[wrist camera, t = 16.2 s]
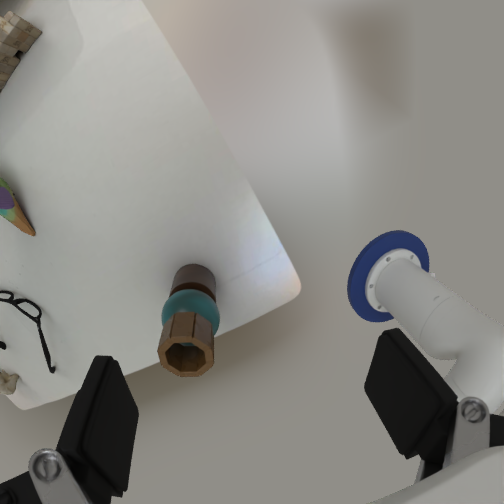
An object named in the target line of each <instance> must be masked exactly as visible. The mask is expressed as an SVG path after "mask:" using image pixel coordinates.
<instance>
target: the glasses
mask: <svg viewBox="0 0 504 504" xmlns="http://www.w3.org/2000/svg"><path fill="white" fill-rule="evenodd" d="M0 293H6V294H10V295H11V297H10V298H9V299H2V298H0V301H3V302H7V303H10V304H12V305H14V306H15V307H16V308H17V309H18V310H20V311H21V312H22V313H23V314H25V315H26V316H28V317H29V318H30V319H32V320H33V321H34V322H36V323H37V328H38V331H39V335H40V339H41V343H42V347H43V351H44V355H45V358H46V361H47V364H48V367H49V370H50V372H51V373H54V372H55V367H51V357H50V354H49V351H48V348H47V345H46V342H45V339H44V336H43V333H42V330H41V327H40V326H41V322H40V318H41V315H42V312H41V309H40V308H39V307H38V306H37V305H36V304H35V303H33V302H31V301H29V300H27V299H15V300H13V299H14V294H13V293H12V292H9V291H0ZM23 302H27V303H30V304H31V305H33V306H34V307H35V308H36V309H37V310H38V311H39V315H38V316H37V317H33V316H31V315H30V314H28V313H27V312H25V311H24V310H23V309H21V308H20V307H19V306H18V305H17V304H20V303H23ZM0 348H2V349H4V350H5V349H6V344H5V343H4V342H1V341H0Z"/></svg>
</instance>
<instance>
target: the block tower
mask: <svg viewBox="0 0 504 504" xmlns="http://www.w3.org/2000/svg"><path fill="white" fill-rule="evenodd" d="M41 33H42V32H41V31H40V30H39V29H37V28H36V27H34V26H33V25H31V24H30V23H28V22H27V21H25V20H24V19H22V18H21V17H19V16H17V15H16V14H14V13H12V12H11V11H8V12H7V14H6V15H5V16H4V17H2V16H0V92H1V89H2V88H3V87H4V85H5V84H6V81H7V80H8V79H9V77H10V75H11V74H12V73H13V71H14V69H15V67H16V66H17V65H18V63H19V62H20V60H19V59H18V58H17V57H16V56H15V54H16V52H17V51H18V50H20V51H22V52H24V53H26V52H27V51H28V50H29V48H30V46H31V45H32V44H33V42H34V41H35V39H37V38H38V37H39V36H40V34H41Z"/></svg>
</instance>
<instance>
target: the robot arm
mask: <svg viewBox="0 0 504 504" xmlns="http://www.w3.org/2000/svg"><path fill="white" fill-rule="evenodd" d="M435 277H436V275H435V273H434V272H430V273H427V272H426V271H425V270H423V269H422V268H421V264H420V261H419V259H418V257H417V256H416V255H415V254H414V253H413V252H411V251H409V250H407V249H403V248H399V249H394V250H391V251H389V252H387V253H385V254H384V255H383V256H381V257H380V258H379V259H378V260H377V261H376V263H375V264H374V265H373V267H372V268H371V270H370V272H369V274H368V277H367V279H366V284H365V295H366V299H367V301H368V303H369V304H370V305H371V306H372V307H373V308H374V309H375V310H377V311H380V312H389V313H390V314H391V315H392V316H393V317H394V318H395V319H396V320H397V321H398V322H399V323H400V324H401V325H402V327H403V328H404V329H405V330H406V331H407V332H408V333H409V334H410V335H411V336H412V337H413V338H414V340H415V341H416V342H417V343H418V344H419V345H420V346H421V347H422V348H423V349H424V351H425V352H426V353H427V354H428V355H430V356H431V357H433V358H436V359H440V360H453V359H457V360H456V362H455V364H454V366H453V367H452V369H451V370H450V372H449V373H448V375H446V377H445V378H444V379H443V378H442V377H441V376H440V375H439V373H438V372H437V371H436V370H435V369H434V367H433V366H432V365H431V364H430V363H429V362H428V361H427V359H426V358H425V357H424V356H423V355H422V354H421V352H420V351H419V350H418V349H417V348H416V347H415V346H414V345H413V343H412V342H411V341H410V340H409V339H408V338H407V337H406V336H405V334H404V333H403V332H402V331H401V330H400V329H399V328H394V329H390V330H385V331H384V332H383V333H382V335H381V336H379V338H378V341H377V345H376V349H375V352H374V356H373V359H372V362H371V366H370V369H369V372H368V375H367V378H366V382H365V385H364V389H365V392H366V394H367V396H368V398H369V400H370V401H371V403H372V405H373V406H374V408H375V410H376V412H377V413H378V415H379V417H380V419H381V421H382V422H383V424H384V426H385V428H386V430H387V431H388V433H389V435H390V437H391V438H392V440H393V442H394V444H395V446H396V448H397V449H398V451H399V453H400V454H402V455H404V456H405V458H406V459H409V458H412V457H414V456H416V455H418V454H419V455H420V457H421V461H420V466H419V469H418V473H417V476H416V480H415V483H414V484H413V485H411V486H409V487H407V488H405V489H402V490H400V491H398V492H396V493H393V494H391V495H389V496H386V497H384V498H381V499H379V500H376V501H374V502H371V503H368V504H504V409H503V411H502V412H501V413H500V414H499V415H494V414H493V413H494V412H495V411H496V410H497V409H498V407H499V406H500V405H501V404H502V403H503V401H504V325H502V324H501V323H499V322H497V321H495V320H493V319H491V318H490V317H488V316H487V315H485V314H483V313H482V312H480V311H479V310H478V309H476V308H475V307H474V306H472V305H471V304H469V303H468V302H467V301H465V300H464V299H463V298H461V297H460V296H459V295H457V294H456V293H455V292H453V291H452V290H451V289H449V288H448V287H446V286H445V285H444V284H442V283H441V282H440V281H438V280H437V279H435ZM138 417H139V413H138V408H137V406H136V403H135V401H134V399H133V397H132V394H131V392H130V390H129V388H128V385H127V383H126V381H125V378H124V376H123V373H122V371H121V368H120V366H119V363H118V361H117V360H114V359H113V357H112V356H99V355H97V356H95V358H94V359H93V362H92V364H91V366H90V368H89V371H88V373H87V375H86V378H85V380H84V382H83V385H82V387H81V389H80V390H79V391H78V392H77V394H76V396H75V399H74V401H73V404H72V406H71V409H70V411H69V414H68V417H67V419H66V422H65V425H64V427H63V430H62V433H61V436H60V439H59V442H58V444H57V447H56V450H53V449H41V450H38V451H37V452H35V453H34V454H33V455H32V456H31V458H30V461H29V466H28V468H29V471H27V472H25V473H23V474H21V475H19V476H17V477H15V478H13V479H10V480H8V481H6V482H3V483H1V484H0V504H110V503H111V496H116V497H122V495H123V491H124V492H126V491H127V488H128V480H129V474H130V466H131V459H132V452H133V445H134V440H135V434H136V428H137V423H138Z"/></svg>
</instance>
